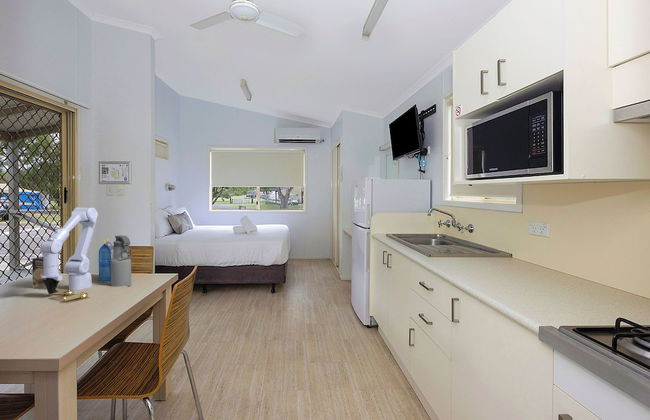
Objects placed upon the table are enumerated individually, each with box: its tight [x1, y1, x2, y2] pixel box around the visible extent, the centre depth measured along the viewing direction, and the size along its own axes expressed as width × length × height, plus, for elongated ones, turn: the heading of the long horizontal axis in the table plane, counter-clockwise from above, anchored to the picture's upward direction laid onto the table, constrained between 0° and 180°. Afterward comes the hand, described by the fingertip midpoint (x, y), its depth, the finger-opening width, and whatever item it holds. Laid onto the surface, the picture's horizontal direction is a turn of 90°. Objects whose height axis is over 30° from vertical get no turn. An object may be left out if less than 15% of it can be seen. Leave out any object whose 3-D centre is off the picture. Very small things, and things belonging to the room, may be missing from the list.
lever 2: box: [62, 292, 89, 301], centre depth 163 cm, size 11×4×2 cm, turn 155°
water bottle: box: [110, 235, 133, 288], centre depth 191 cm, size 10×10×28 cm
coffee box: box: [31, 256, 47, 290], centre depth 187 cm, size 9×6×16 cm
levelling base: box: [47, 294, 91, 304], centre depth 165 cm, size 10×16×2 cm, turn 65°
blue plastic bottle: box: [98, 236, 114, 283], centre depth 206 cm, size 6×12×25 cm, turn 24°
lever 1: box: [53, 288, 75, 296], centre depth 170 cm, size 11×4×2 cm, turn 92°
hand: (51, 293), depth 168 cm, fingers closed
